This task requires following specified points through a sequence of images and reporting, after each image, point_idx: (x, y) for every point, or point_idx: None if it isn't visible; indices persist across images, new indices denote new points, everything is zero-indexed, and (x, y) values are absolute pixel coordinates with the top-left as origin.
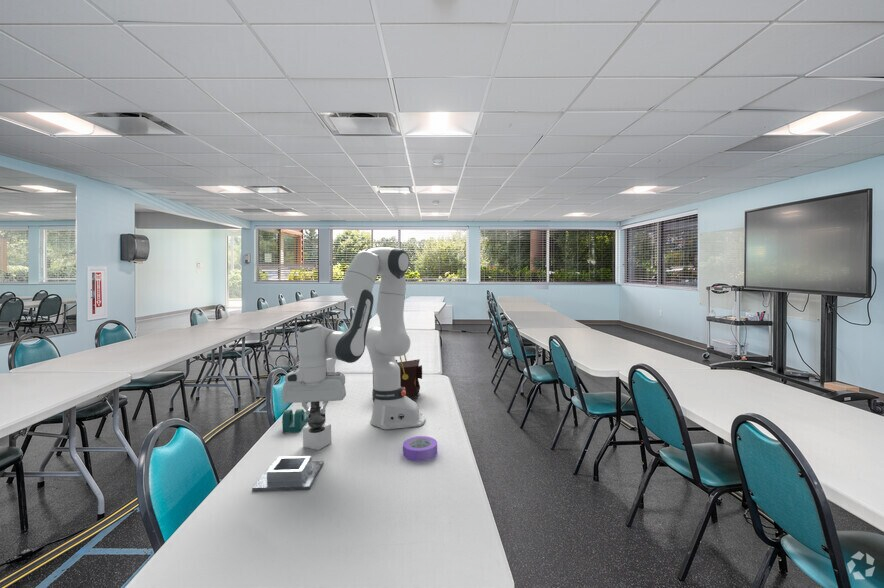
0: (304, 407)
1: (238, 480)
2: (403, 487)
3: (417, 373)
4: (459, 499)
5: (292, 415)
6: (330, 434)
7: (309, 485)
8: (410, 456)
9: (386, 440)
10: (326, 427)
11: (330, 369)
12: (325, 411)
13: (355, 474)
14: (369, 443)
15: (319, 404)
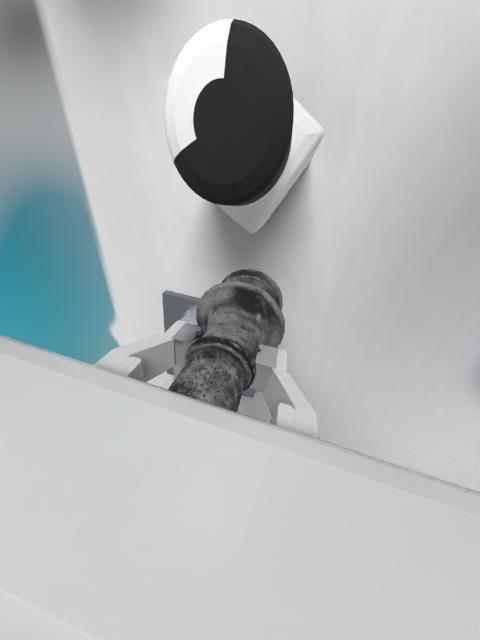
0: (147, 374)
1: (131, 331)
2: (408, 438)
3: None
4: (473, 484)
5: None
6: (311, 157)
7: (252, 396)
8: None
9: None
10: (293, 177)
11: None
12: (286, 352)
13: (338, 379)
14: (465, 204)
15: (240, 397)
